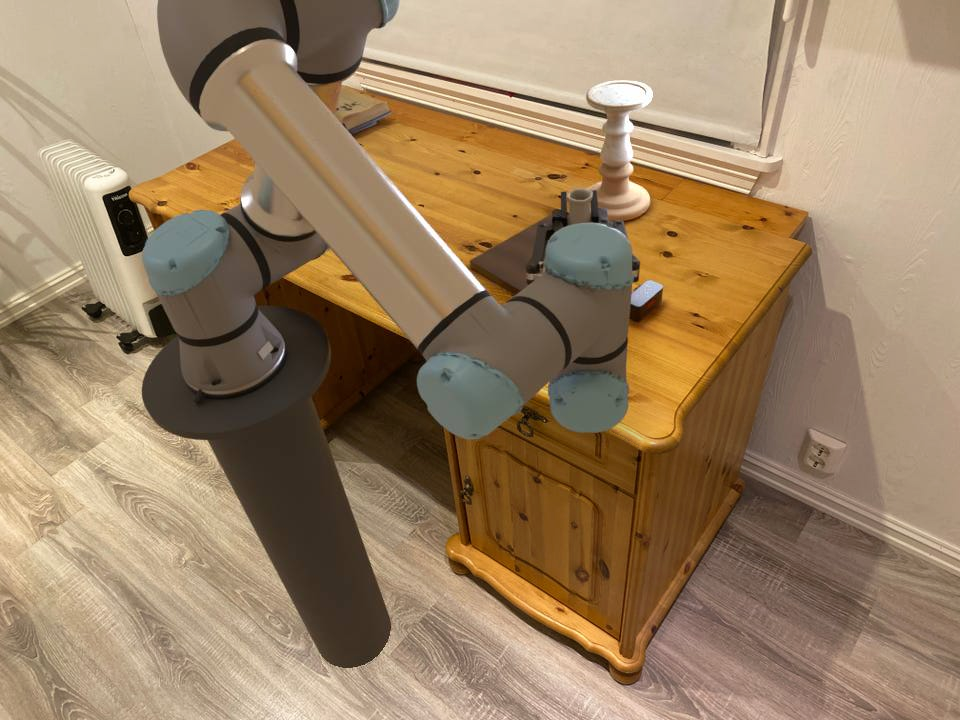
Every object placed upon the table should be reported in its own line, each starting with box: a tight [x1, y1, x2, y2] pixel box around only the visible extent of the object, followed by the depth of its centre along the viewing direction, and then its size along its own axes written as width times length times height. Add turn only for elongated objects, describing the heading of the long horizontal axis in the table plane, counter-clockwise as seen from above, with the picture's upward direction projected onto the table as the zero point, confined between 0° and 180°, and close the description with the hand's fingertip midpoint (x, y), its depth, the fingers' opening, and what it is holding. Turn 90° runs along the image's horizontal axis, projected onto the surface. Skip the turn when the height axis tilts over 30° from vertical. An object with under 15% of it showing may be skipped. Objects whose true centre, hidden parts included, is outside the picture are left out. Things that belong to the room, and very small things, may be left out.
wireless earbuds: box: [629, 279, 664, 323], centre depth 104 cm, size 5×7×3 cm, turn 136°
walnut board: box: [469, 213, 569, 296], centre depth 116 cm, size 20×15×2 cm
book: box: [335, 85, 393, 135], centre depth 158 cm, size 25×17×6 cm
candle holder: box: [585, 79, 653, 222], centre depth 120 cm, size 12×12×20 cm
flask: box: [567, 187, 593, 226], centre depth 92 cm, size 7×7×10 cm
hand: (578, 200), depth 95 cm, fingers closed on flask, 3 cm apart
